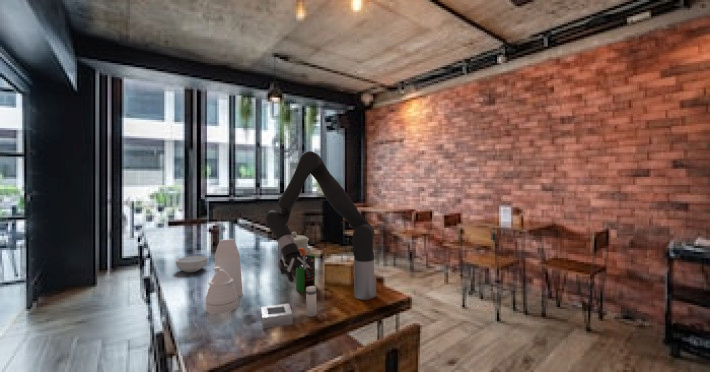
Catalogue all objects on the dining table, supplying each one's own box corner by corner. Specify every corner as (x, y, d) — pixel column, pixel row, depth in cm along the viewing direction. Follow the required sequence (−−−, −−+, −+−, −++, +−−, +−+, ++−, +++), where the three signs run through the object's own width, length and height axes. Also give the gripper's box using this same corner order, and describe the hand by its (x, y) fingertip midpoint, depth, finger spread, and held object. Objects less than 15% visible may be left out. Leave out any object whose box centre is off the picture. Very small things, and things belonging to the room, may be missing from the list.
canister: (306, 269, 205) (306, 234, 204) (276, 270, 205) (275, 234, 204) (311, 261, 223) (310, 229, 222) (283, 262, 223) (282, 229, 222)
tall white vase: (215, 299, 159) (213, 242, 157) (214, 291, 169) (213, 238, 168) (242, 295, 163) (241, 240, 162) (240, 287, 174) (239, 236, 173)
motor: (310, 292, 166) (309, 251, 165) (292, 291, 168) (292, 250, 167) (317, 285, 176) (316, 246, 175) (300, 284, 177) (299, 246, 177)
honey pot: (218, 316, 140) (217, 272, 139) (199, 309, 146) (197, 267, 146) (244, 305, 150) (243, 264, 150) (224, 300, 157) (223, 260, 157)
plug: (315, 311, 143) (315, 285, 142) (317, 315, 139) (317, 288, 138) (305, 313, 142) (305, 286, 141) (307, 317, 138) (306, 290, 137)
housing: (289, 313, 142) (288, 303, 142) (292, 324, 131) (292, 313, 131) (261, 316, 139) (261, 307, 138) (262, 328, 128) (262, 317, 128)
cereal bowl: (213, 269, 208) (213, 257, 208) (187, 276, 194) (186, 263, 194) (196, 265, 218) (196, 254, 217) (170, 271, 203) (170, 260, 203)
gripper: (276, 244, 148) (289, 277, 139) (305, 240, 157) (319, 271, 148) (271, 254, 152) (283, 287, 144) (300, 250, 161) (313, 280, 152)
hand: (301, 279), depth 146 cm, fingers open, 8 cm apart
